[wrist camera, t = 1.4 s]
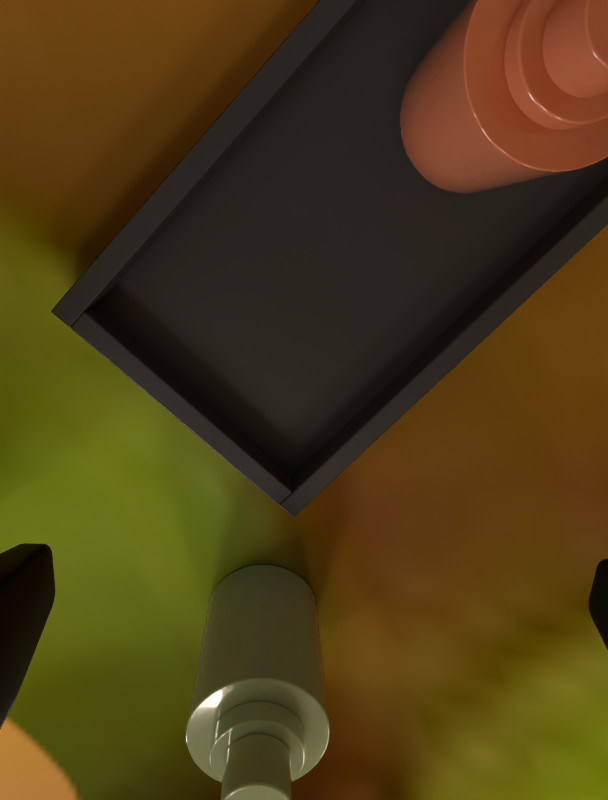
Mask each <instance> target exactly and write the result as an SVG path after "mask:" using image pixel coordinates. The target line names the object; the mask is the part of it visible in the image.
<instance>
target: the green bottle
mask: <svg viewBox="0 0 608 800" xmlns="http://www.w3.org/2000/svg"><path fill="white" fill-rule="evenodd" d="M329 738H330V723H329V714H328V705H327V696H326V687H325V679H324V670H323V661H322V652H321V643H320V635H319V626H318V617H317V608H316V602H315V598H314V595H313V593H312V591H311V589H310V587H309V586H308V585H307V584H306V582H305V581H304V580H303V579H302V578H300V577H299V576H298V575H296V574H295V573H293V572H291V571H289V570H287V569H285V568H282V567H278V566H273V565H253V566H248V567H245V568H242V569H239V570H237V571H235V572H233V573H231V574H230V575H228V576H227V577H226V578H224V579H223V580H222V581H221V582H220V583H219V584H218V585H217V587H216V588H215V590H214V591H213V593H212V595H211V597H210V600H209V605H208V610H207V616H206V621H205V627H204V632H203V638H202V644H201V649H200V655H199V660H198V666H197V671H196V677H195V682H194V688H193V693H192V699H191V704H190V710H189V716H188V721H187V727H186V743H187V747H188V750H189V753H190V755H191V757H192V759H193V761H194V762H195V763H196V765H197V766H198V767H199V768H200V769H201V770H202V771H203V772H204V773H206V774H207V775H208V776H210V777H211V778H213V779H215V780H216V781H218V782H221V783H222V787H221V797H220V800H292V782H293V781H295V780H297V779H299V778H300V777H302V776H304V775H305V774H306V773H308V772H309V771H310V770H311V769H312V768H314V767H315V766H316V764H317V763H318V762H319V761H320V759H321V758H322V756H323V755H324V753H325V751H326V748H327V746H328V742H329Z"/></svg>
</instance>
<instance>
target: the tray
mask: <svg viewBox="0 0 608 800" xmlns="http://www.w3.org/2000/svg"><path fill="white" fill-rule="evenodd" d="M469 1H470V0H319V1H318V2H317V4H316V5H315V6H314V7H313V8H312V9H311V10H310V12H309V13H308V14H307V15H306V16H305V17H304V19H303V20H302V21H301V22H300V23H299V24H298V26H297V27H296V28H295V29H294V30H293V31H292V32H291V34H290V35H289V36H288V37H287V38H286V39H285V41H284V42H283V43H282V44H281V45H280V46H279V48H278V49H277V50H276V51H275V52H274V53H273V54H272V56H271V57H270V58H269V59H268V60H267V61H266V63H265V64H264V65H263V66H262V67H261V68H260V70H259V71H258V72H257V73H256V74H255V75H254V77H253V78H252V79H251V80H250V81H249V82H248V83H247V85H246V86H245V87H244V88H243V89H242V90H241V92H240V93H239V94H238V95H237V96H236V97H235V99H234V100H233V101H232V102H231V103H230V104H229V105H228V107H227V108H226V109H225V110H224V111H223V112H222V114H221V115H220V116H219V117H218V118H217V119H216V121H215V122H214V123H213V124H212V125H211V126H210V127H209V129H208V130H207V131H206V132H205V133H204V134H203V136H202V137H201V138H200V139H199V140H198V141H197V143H196V144H195V145H194V146H193V147H192V148H191V149H190V151H189V152H188V153H187V154H186V155H185V156H184V158H183V159H182V160H181V161H180V162H179V163H178V165H177V166H176V167H175V168H174V169H173V170H172V171H171V173H170V174H169V175H168V176H167V177H166V178H165V180H164V181H163V182H162V183H161V184H160V185H159V187H158V188H157V189H156V190H155V191H154V192H153V193H152V195H151V196H150V197H149V198H148V199H147V200H146V202H145V203H144V204H143V205H142V206H141V207H140V209H139V210H138V211H137V212H136V213H135V214H134V215H133V217H132V218H131V219H130V220H129V221H128V222H127V224H126V225H125V226H124V227H123V228H122V229H121V231H120V232H119V233H118V234H117V235H116V236H115V238H114V239H113V240H112V241H111V242H110V243H109V244H108V246H107V247H106V248H105V249H104V250H103V251H102V253H101V254H100V255H99V256H98V257H97V258H96V260H95V261H94V262H93V263H92V264H91V265H90V266H89V268H88V269H87V270H86V271H85V272H84V273H83V275H82V276H81V277H80V278H79V279H78V280H77V282H76V283H75V284H74V285H73V286H72V287H71V288H70V290H69V291H68V292H67V293H66V294H65V295H64V297H63V298H62V299H61V300H60V301H59V302H58V304H57V305H56V306H55V307H54V308H53V309H52V311H51V312H52V313H53V314H55V315H56V316H57V317H58V318H59V319H60V320H62V321H63V322H64V323H65V324H66V325H67V326H69V327H71V329H72V330H74V331H75V332H76V333H77V334H78V335H80V336H81V337H82V338H83V339H84V340H85V341H87V342H88V343H89V344H90V345H91V346H92V347H94V348H95V349H96V350H97V351H98V352H99V353H101V354H102V355H103V356H104V357H105V358H107V359H108V360H109V361H110V362H111V363H112V364H114V365H115V366H116V367H117V368H118V369H119V370H121V371H122V372H123V373H124V374H125V375H126V376H128V377H129V378H130V379H131V380H132V381H133V382H135V383H136V384H137V385H138V386H139V387H141V388H142V389H143V390H144V391H145V392H146V393H148V394H149V395H150V396H151V397H152V398H153V399H155V400H156V401H157V402H158V403H159V404H160V405H162V406H163V407H164V408H165V409H166V410H168V411H169V412H170V413H171V414H172V415H173V416H175V417H176V418H177V419H178V420H179V421H180V422H182V423H183V424H184V425H185V426H186V427H187V428H189V429H190V430H191V431H192V432H193V433H195V434H196V435H197V436H198V437H199V438H200V439H202V440H203V441H204V442H205V443H206V444H207V445H209V446H210V447H211V448H212V449H213V450H214V451H216V452H217V453H218V454H219V455H220V456H222V457H223V458H224V459H225V460H226V461H227V462H229V463H230V464H231V465H232V466H233V467H234V468H236V469H237V470H238V471H239V472H240V473H241V474H243V475H244V476H245V477H246V478H247V479H249V480H250V481H251V482H252V483H253V484H254V485H256V486H257V487H258V488H259V489H260V490H261V491H263V492H264V493H265V494H266V495H267V496H268V497H270V498H271V499H272V500H273V501H274V502H275V503H277V504H278V505H280V507H282V508H283V509H284V510H285V511H286V512H287V513H289V514H290V515H291V516H292V517H294V516H295V515H296V514H297V513H298V512H299V511H300V510H302V509H303V508H304V507H305V506H306V505H307V504H308V503H309V502H310V501H311V500H312V499H313V498H314V497H315V496H317V495H318V494H319V493H320V492H321V491H322V490H323V489H324V488H325V487H326V486H327V485H328V484H329V483H330V482H332V481H333V480H334V479H335V478H336V477H337V476H338V475H339V474H340V473H341V472H342V471H343V470H344V469H345V468H347V467H348V466H349V465H350V464H351V463H352V462H353V461H354V460H355V459H356V458H357V457H358V456H359V455H361V454H362V453H363V452H364V451H365V450H366V449H367V448H368V447H369V446H370V445H371V444H372V443H373V442H374V441H376V440H377V439H378V438H379V437H380V436H381V435H382V434H383V433H384V432H385V431H386V430H387V429H388V428H389V427H391V426H392V425H393V424H394V423H395V422H396V421H397V420H398V419H399V418H400V417H401V416H402V415H403V414H404V413H406V412H407V411H408V410H409V409H410V408H411V407H412V406H413V405H414V404H415V403H416V402H417V401H418V400H419V399H421V398H422V397H423V396H424V395H425V394H426V393H427V392H428V391H429V390H430V389H431V388H432V387H433V386H434V385H436V384H437V383H438V382H439V381H440V380H441V379H442V378H443V377H444V376H445V375H446V374H447V373H448V372H450V371H451V370H452V369H453V368H454V367H455V366H456V365H457V364H458V363H459V362H460V361H461V360H462V359H463V358H465V357H466V356H467V355H468V354H469V353H470V352H471V351H472V350H473V349H474V348H475V347H476V346H477V345H478V344H480V343H481V342H482V341H483V340H484V339H485V338H486V337H487V336H488V335H489V334H490V333H491V332H492V331H493V330H495V329H496V328H497V327H498V326H499V325H500V324H501V323H502V322H503V321H504V320H505V319H506V318H507V317H508V316H510V315H511V314H512V313H513V312H514V311H515V310H516V309H517V308H518V307H519V306H520V305H521V304H522V303H523V302H525V301H526V300H527V299H528V298H529V297H530V296H531V295H532V294H533V293H534V292H535V291H536V290H537V289H538V288H540V287H541V286H542V285H543V284H544V283H545V282H546V281H547V280H548V279H549V278H550V277H551V276H552V275H554V274H555V273H556V272H557V271H558V270H559V269H560V268H561V267H562V266H563V265H564V264H565V263H566V262H567V261H569V260H570V259H571V258H572V257H573V256H574V255H575V254H576V253H577V252H578V251H579V250H580V249H581V248H582V247H584V246H585V245H586V244H587V243H588V242H589V241H590V240H591V239H592V238H593V237H594V236H595V235H596V234H597V233H599V232H600V231H601V230H602V229H603V228H604V227H605V226H606V225H607V224H608V157H607V158H605V159H603V160H601V161H599V162H597V163H595V164H592V165H590V166H587V167H584V168H581V169H577V170H572V171H568V172H564V173H559V174H555V175H550V176H546V177H542V178H537V179H533V180H529V181H524V182H520V183H515V184H511V185H507V186H502V187H498V188H494V189H489V190H485V191H480V192H476V193H455V192H451V191H447V190H444V189H442V188H439V187H437V186H436V185H434V184H432V183H431V182H429V181H428V180H427V179H425V178H424V177H423V176H422V175H421V174H420V173H419V172H418V171H417V169H416V168H415V167H414V165H413V164H412V162H411V160H410V159H409V157H408V155H407V152H406V150H405V147H404V144H403V140H402V137H401V129H400V109H401V102H402V98H403V94H404V91H405V88H406V85H407V83H408V80H409V78H410V76H411V74H412V73H413V71H414V69H415V68H416V66H417V65H418V64H419V62H420V61H421V60H422V59H423V57H424V56H425V55H426V54H427V53H428V51H429V50H430V49H431V48H432V47H433V45H434V44H435V43H436V42H437V40H438V39H439V38H440V37H441V36H442V34H443V33H444V32H445V31H446V29H447V28H448V27H449V26H450V25H451V23H452V22H453V21H454V20H455V19H456V17H457V16H458V15H459V14H460V12H461V11H462V10H463V9H464V8H465V6H466V5H467V4H468V3H469Z"/></svg>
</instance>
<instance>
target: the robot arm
mask: <svg viewBox="0 0 608 800" xmlns="http://www.w3.org/2000/svg"><path fill="white" fill-rule="evenodd" d="M54 597H55V581H54V569H53V558H52V551H51V549H50V547H49V546H48V545H46V544H26V543H24V544H20V545H18V546H15V547H13V548H11V549H9V550H7V551H5V552H3V553H1V554H0V729H1V727H2V725H3V723H4V721H5V719H6V717H7V715H8V713H9V711H10V709H11V707H12V705H13V703H14V701H15V699H16V697H17V694H18V692H19V690H20V687H21V685H22V682H23V680H24V677H25V675H26V672H27V670H28V667H29V665H30V662H31V659H32V657H33V654H34V652H35V649H36V647H37V644H38V641H39V639H40V636H41V634H42V631H43V629H44V626H45V624H46V621H47V618H48V616H49V613H50V611H51V608H52V605H53V602H54ZM589 611H590V614H591V617H592V619H593V621H594V623H595V625H596V627H597V629H598V631H599V633H600V635H601V637H602V639H603V641H604V643H605V645H606V647H607V649H608V559H604V560H602V561H600V563H599V564H598V566H597V569H596V573H595V577H594V581H593V585H592V589H591V593H590V597H589Z"/></svg>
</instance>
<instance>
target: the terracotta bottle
mask: <svg viewBox="0 0 608 800" xmlns="http://www.w3.org/2000/svg"><path fill="white" fill-rule="evenodd" d="M400 129H401V137H402V140H403V144H404V147H405V150H406V152H407V155H408V157H409V159H410V160H411V162H412V164H413V165H414V167H415V168H416V169H417V171H418V172H419V173H420V174H421V175H422V176H423V177H424V178H425V179H427V180H428V181H429V182H431V183H432V184H434V185H436V186H437V187H439V188H442V189H444V190H447V191H451V192H455V193H476V192H480V191H485V190H489V189H494V188H498V187H502V186H507V185H511V184H515V183H520V182H524V181H529V180H533V179H537V178H542V177H546V176H550V175H555V174H559V173H564V172H568V171H572V170H577V169H581V168H584V167H587V166H590V165H592V164H595V163H597V162H599V161H601V160H603V159H605V158H607V157H608V0H470V1H469V3H468V4H467V5H466V6H465V8H464V9H463V10H462V11H461V12H460V14H459V15H458V16H457V17H456V19H455V20H454V21H453V22H452V23H451V25H450V26H449V27H448V28H447V29H446V31H445V32H444V33H443V34H442V36H441V37H440V38H439V39H438V40H437V42H436V43H435V44H434V45H433V47H432V48H431V49H430V50H429V51H428V53H427V54H426V55H425V56H424V57H423V59H422V60H421V61H420V62H419V64H418V65H417V66H416V68H415V69H414V71H413V73H412V74H411V76H410V78H409V80H408V83H407V85H406V88H405V91H404V94H403V98H402V102H401V109H400Z"/></svg>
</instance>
